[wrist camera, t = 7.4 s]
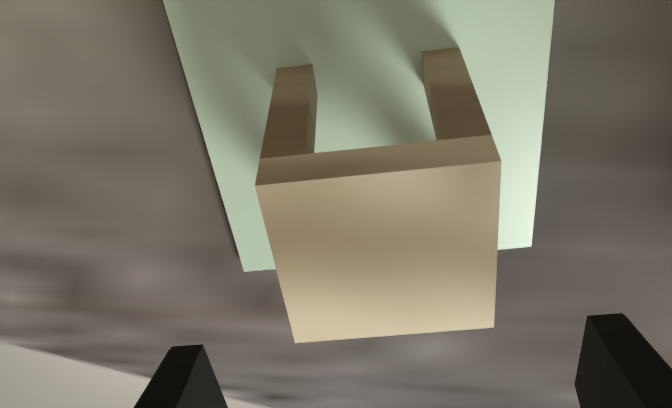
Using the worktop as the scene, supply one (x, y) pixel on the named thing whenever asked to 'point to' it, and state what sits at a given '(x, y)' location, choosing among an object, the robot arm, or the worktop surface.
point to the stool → (383, 215)
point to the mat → (362, 86)
